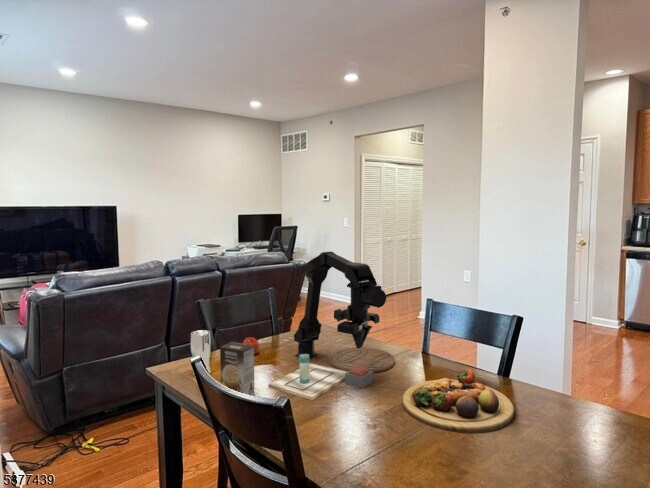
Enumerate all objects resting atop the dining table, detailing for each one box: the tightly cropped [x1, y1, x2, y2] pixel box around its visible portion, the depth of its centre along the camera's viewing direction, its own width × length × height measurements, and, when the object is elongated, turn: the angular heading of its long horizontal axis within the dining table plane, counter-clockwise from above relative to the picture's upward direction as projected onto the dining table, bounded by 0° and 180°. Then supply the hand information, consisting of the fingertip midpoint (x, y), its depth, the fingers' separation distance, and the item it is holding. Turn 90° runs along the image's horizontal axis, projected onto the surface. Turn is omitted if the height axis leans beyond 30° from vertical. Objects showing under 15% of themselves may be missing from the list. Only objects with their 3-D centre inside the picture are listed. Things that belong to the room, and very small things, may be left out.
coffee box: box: [219, 341, 255, 396], centre depth 142 cm, size 9×6×16 cm
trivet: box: [328, 347, 395, 375], centre depth 172 cm, size 25×25×2 cm
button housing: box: [344, 370, 374, 389], centre depth 152 cm, size 7×7×4 cm
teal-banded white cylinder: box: [298, 354, 310, 384], centre depth 150 cm, size 3×3×9 cm
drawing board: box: [267, 362, 347, 401], centre depth 153 cm, size 24×18×1 cm
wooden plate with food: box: [401, 368, 515, 434], centre depth 134 cm, size 32×32×8 cm
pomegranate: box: [242, 336, 261, 355], centre depth 181 cm, size 7×7×10 cm
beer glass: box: [190, 329, 212, 376], centre depth 160 cm, size 7×7×15 cm
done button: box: [351, 365, 367, 376], centre depth 152 cm, size 4×4×3 cm
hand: (359, 347), depth 151 cm, fingers closed
